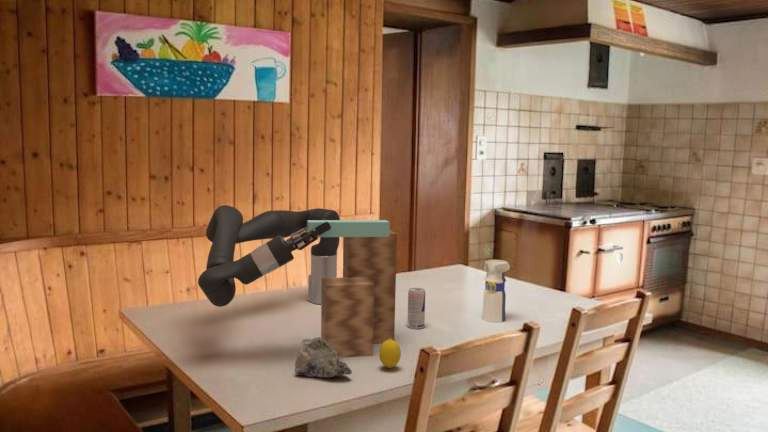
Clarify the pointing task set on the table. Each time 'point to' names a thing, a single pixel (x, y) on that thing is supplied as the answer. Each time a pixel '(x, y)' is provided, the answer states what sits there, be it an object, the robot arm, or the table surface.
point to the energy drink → (416, 308)
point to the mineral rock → (319, 360)
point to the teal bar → (352, 228)
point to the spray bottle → (494, 290)
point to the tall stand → (375, 277)
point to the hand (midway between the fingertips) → (327, 223)
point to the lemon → (389, 353)
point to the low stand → (348, 315)
